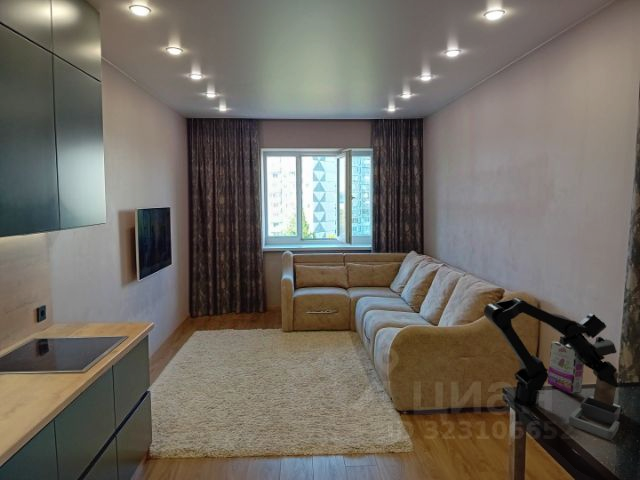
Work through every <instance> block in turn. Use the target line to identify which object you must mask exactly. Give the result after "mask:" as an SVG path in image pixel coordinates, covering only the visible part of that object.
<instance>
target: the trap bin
mask: <svg viewBox="0 0 640 480" xmlns="http://www.w3.org/2000/svg"><path fill="white" fill-rule="evenodd" d="M579 408H582V412H581V416H584V417H587V418H589V419H593V420H595V421H598V422H601V423H604V424H606V425H608V426H610V427H611V426H612V425H613V423H614V422H615V421H618V422H619V419H620V415H621V414H620V413H621V406H620V407H617V406H614V405H611V404H608V403H605V402H602V401H599V400H596V399H594V398H591V396H586V397H585V398H584V399H583V400H582V401H581V402H580V407H579Z"/></svg>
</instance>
